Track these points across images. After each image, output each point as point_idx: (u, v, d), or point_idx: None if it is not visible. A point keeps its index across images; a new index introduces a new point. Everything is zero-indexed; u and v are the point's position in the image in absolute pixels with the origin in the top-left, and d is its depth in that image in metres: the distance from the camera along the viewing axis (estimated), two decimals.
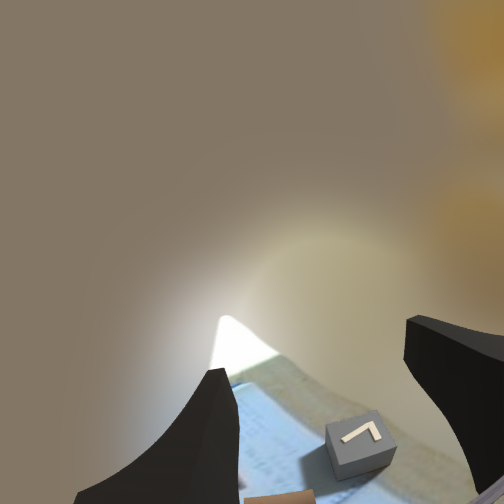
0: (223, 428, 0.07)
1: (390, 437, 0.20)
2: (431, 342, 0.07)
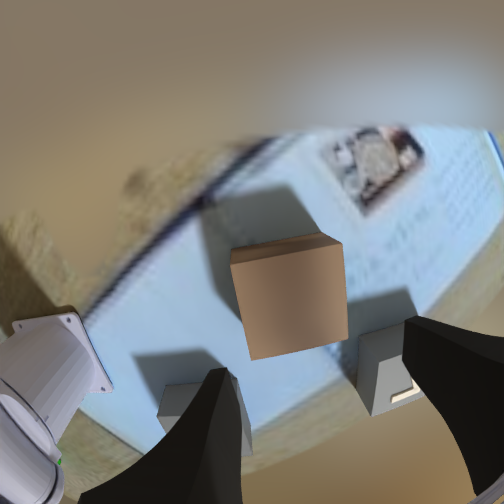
0: (226, 428, 0.07)
1: (386, 410, 0.18)
2: (429, 343, 0.07)
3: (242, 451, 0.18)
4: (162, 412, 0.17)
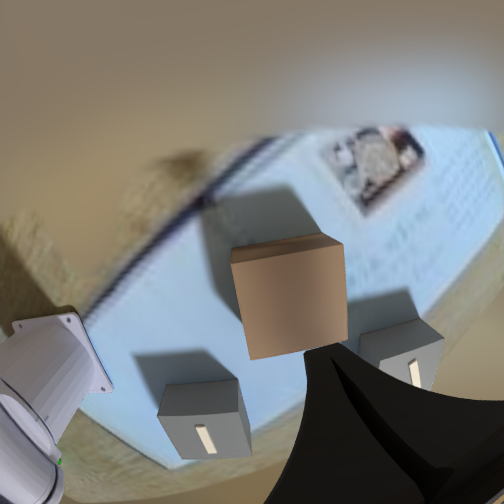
0: None
1: None
2: (338, 377, 0.07)
3: (241, 452, 0.18)
4: (162, 412, 0.17)
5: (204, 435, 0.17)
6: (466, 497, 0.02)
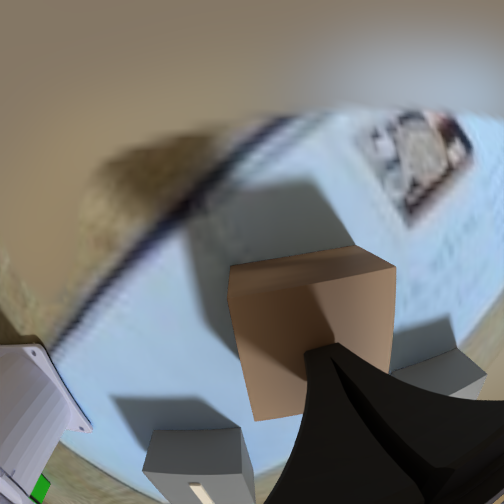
0: None
1: None
2: (338, 377, 0.07)
3: None
4: (149, 466, 0.12)
5: (200, 492, 0.12)
6: (466, 497, 0.02)
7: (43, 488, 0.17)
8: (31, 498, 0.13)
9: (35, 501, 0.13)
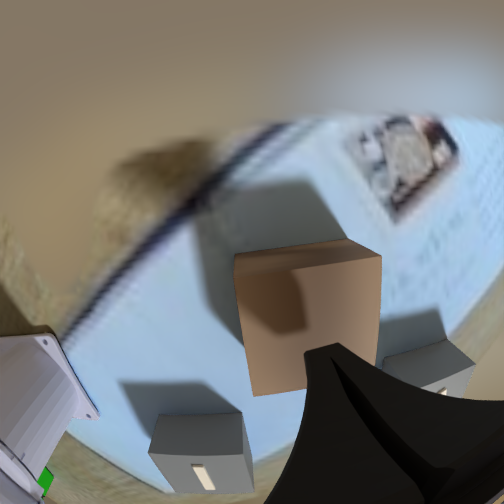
0: None
1: None
2: (338, 377, 0.07)
3: (243, 489, 0.14)
4: (154, 448, 0.13)
5: (202, 474, 0.13)
6: (466, 497, 0.02)
7: (47, 480, 0.18)
8: None
9: None
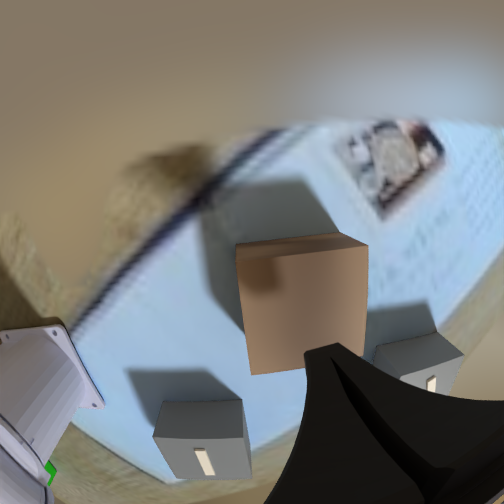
0: None
1: None
2: (338, 377, 0.07)
3: (241, 474, 0.15)
4: (159, 432, 0.14)
5: (203, 458, 0.14)
6: (466, 497, 0.02)
7: (50, 474, 0.19)
8: None
9: None
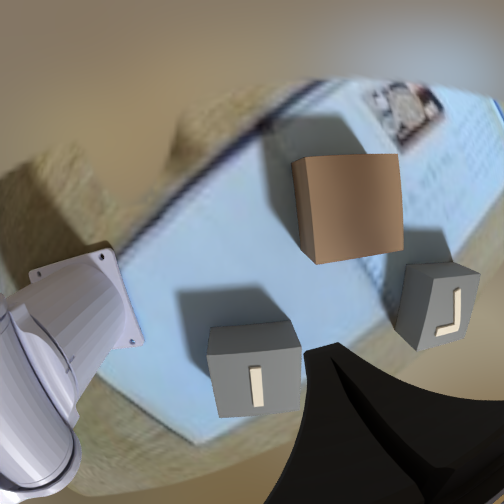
0: None
1: (429, 346, 0.18)
2: (338, 377, 0.07)
3: (290, 404, 0.18)
4: (213, 351, 0.17)
5: (257, 380, 0.17)
6: (466, 497, 0.02)
7: None
8: None
9: None
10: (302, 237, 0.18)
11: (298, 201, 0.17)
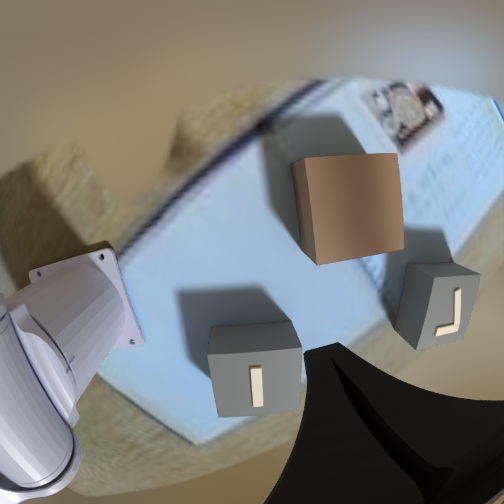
0: None
1: (429, 345, 0.18)
2: (338, 377, 0.07)
3: (290, 405, 0.18)
4: (213, 350, 0.17)
5: (257, 380, 0.17)
6: (466, 497, 0.02)
7: None
8: None
9: None
10: (303, 238, 0.18)
11: (298, 202, 0.18)
